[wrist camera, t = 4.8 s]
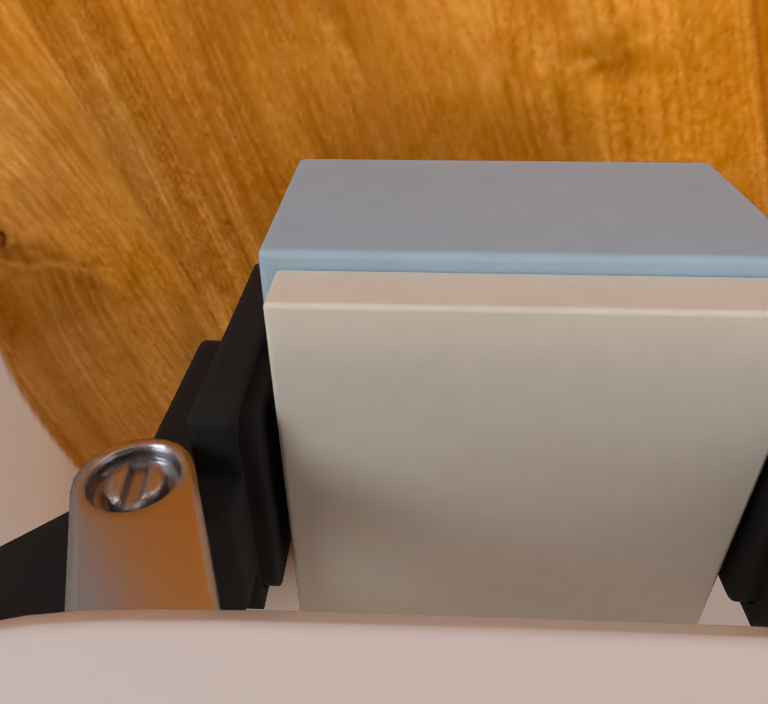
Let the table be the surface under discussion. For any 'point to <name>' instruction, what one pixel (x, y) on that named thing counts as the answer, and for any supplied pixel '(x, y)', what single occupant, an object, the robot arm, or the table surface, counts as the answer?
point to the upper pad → (516, 384)
